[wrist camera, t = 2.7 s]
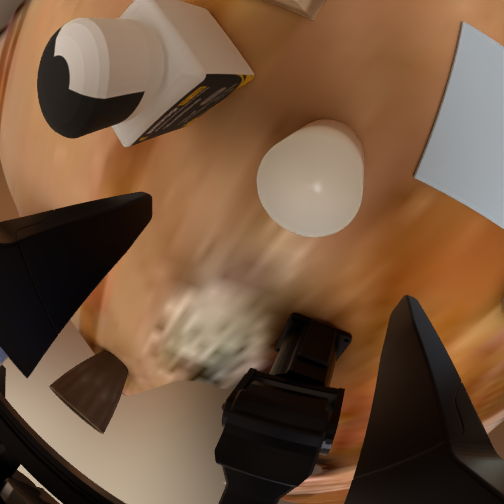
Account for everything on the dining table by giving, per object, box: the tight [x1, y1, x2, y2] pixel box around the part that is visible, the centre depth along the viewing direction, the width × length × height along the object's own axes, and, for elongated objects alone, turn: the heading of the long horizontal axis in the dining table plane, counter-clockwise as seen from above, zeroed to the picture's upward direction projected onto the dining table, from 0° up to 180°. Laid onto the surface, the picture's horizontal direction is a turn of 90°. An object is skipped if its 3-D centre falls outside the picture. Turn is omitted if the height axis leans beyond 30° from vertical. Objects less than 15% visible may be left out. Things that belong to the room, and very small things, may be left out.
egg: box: [257, 119, 364, 237], centre depth 15 cm, size 5×5×7 cm
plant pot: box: [49, 351, 128, 434], centre depth 50 cm, size 15×15×16 cm
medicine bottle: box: [37, 0, 255, 147], centre depth 13 cm, size 7×7×12 cm
